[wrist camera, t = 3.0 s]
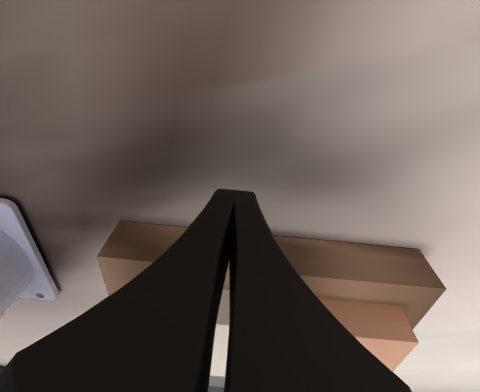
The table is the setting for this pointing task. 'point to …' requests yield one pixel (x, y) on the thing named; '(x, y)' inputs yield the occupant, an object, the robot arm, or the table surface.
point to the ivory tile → (221, 337)
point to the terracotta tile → (376, 328)
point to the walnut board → (297, 267)
